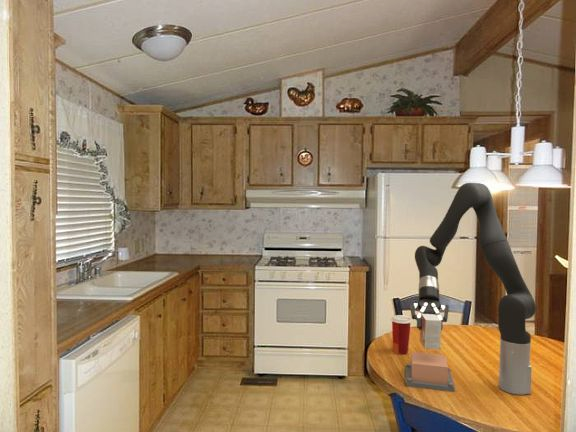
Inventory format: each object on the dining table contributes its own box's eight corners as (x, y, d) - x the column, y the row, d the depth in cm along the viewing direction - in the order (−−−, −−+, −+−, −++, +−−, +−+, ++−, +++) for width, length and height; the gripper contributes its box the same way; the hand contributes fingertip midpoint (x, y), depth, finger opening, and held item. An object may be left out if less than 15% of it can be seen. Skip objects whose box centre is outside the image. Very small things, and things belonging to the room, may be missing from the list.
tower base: (449, 373, 164) (450, 353, 163) (454, 391, 148) (455, 370, 148) (405, 368, 168) (405, 349, 167) (405, 386, 152) (406, 364, 152)
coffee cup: (412, 351, 187) (413, 316, 186) (407, 357, 180) (408, 321, 179) (393, 347, 191) (394, 313, 191) (387, 353, 184) (388, 318, 183)
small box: (419, 341, 162) (420, 313, 161) (435, 342, 161) (436, 314, 160) (424, 349, 154) (425, 319, 153) (440, 349, 153) (441, 320, 153)
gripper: (409, 283, 167) (409, 323, 157) (449, 286, 164) (451, 326, 153) (409, 294, 173) (408, 333, 162) (447, 297, 169) (449, 337, 158)
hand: (429, 329), depth 158 cm, fingers closed on small box, 6 cm apart
